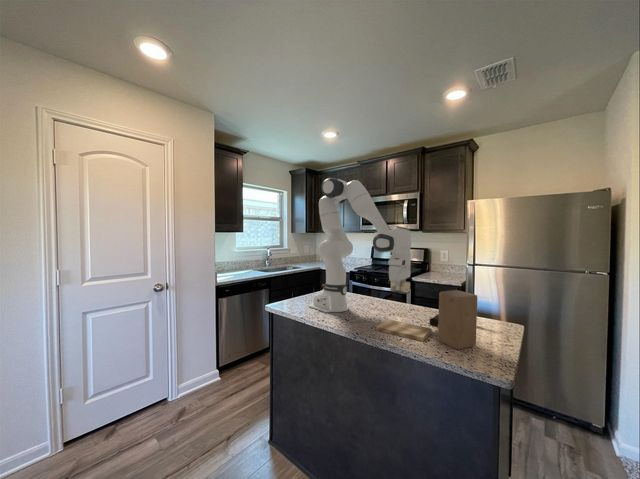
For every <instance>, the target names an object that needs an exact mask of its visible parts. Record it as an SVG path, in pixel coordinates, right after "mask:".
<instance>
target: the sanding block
mask: <svg viewBox="0 0 640 479" xmlns="http://www.w3.org/2000/svg"><path fill="white" fill-rule="evenodd" d="M390 292H391V293H396V294H404V295H408V294H410V293H411V282H410V281H406V282H404V281H400V290H396V285H395V282H391V281H390Z"/></svg>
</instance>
